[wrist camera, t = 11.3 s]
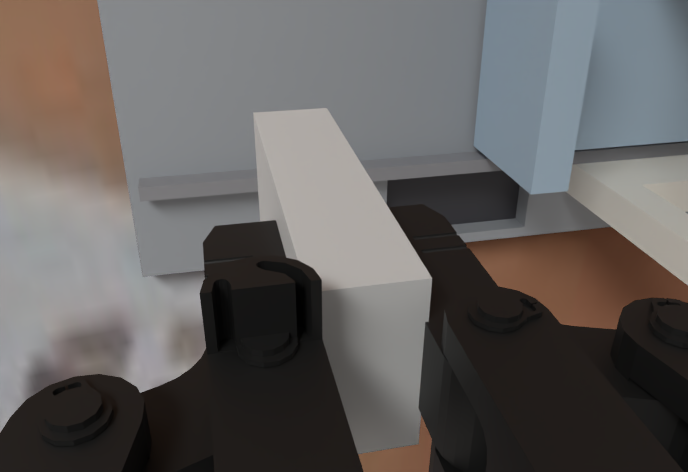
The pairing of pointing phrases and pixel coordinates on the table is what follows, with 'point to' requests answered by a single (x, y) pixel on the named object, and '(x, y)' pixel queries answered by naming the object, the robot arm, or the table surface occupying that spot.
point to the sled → (578, 82)
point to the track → (347, 123)
